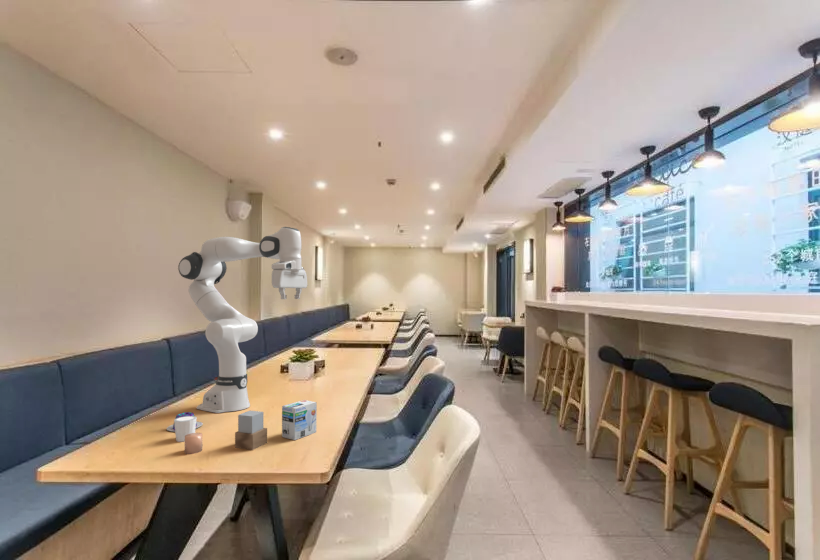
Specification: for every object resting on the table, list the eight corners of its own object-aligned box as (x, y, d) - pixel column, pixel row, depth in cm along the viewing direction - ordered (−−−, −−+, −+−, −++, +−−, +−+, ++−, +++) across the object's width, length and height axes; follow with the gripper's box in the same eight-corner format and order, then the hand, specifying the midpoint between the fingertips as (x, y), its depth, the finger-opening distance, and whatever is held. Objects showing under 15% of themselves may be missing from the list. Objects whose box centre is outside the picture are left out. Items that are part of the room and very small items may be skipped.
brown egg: (180, 453, 134) (180, 436, 135) (193, 447, 139) (193, 431, 139) (193, 454, 133) (193, 438, 133) (205, 449, 137) (205, 433, 138)
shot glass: (173, 443, 143) (173, 422, 143) (174, 437, 149) (174, 417, 149) (196, 440, 146) (196, 419, 146) (196, 434, 152) (196, 414, 152)
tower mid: (238, 432, 139) (238, 414, 139) (249, 427, 144) (249, 410, 144) (252, 433, 137) (252, 416, 137) (263, 428, 142) (263, 411, 143)
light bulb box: (294, 440, 144) (294, 408, 145) (281, 437, 148) (281, 405, 148) (317, 432, 154) (317, 401, 154) (303, 429, 157) (303, 399, 157)
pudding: (186, 422, 168) (186, 408, 168) (210, 425, 164) (210, 411, 164) (158, 431, 157) (158, 416, 157) (183, 434, 153) (183, 419, 153)
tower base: (235, 448, 139) (235, 432, 139) (250, 441, 145) (250, 426, 145) (252, 450, 136) (252, 434, 136) (267, 443, 143) (267, 428, 143)
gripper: (298, 267, 190) (298, 298, 189) (268, 264, 170) (268, 299, 170) (310, 267, 188) (310, 298, 187) (282, 264, 168) (282, 299, 168)
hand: (290, 299), depth 178 cm, fingers open, 8 cm apart
